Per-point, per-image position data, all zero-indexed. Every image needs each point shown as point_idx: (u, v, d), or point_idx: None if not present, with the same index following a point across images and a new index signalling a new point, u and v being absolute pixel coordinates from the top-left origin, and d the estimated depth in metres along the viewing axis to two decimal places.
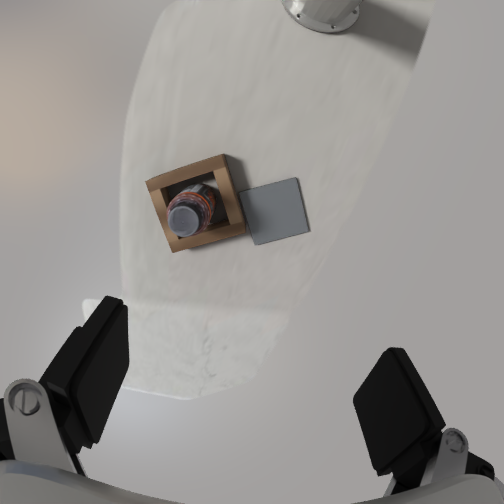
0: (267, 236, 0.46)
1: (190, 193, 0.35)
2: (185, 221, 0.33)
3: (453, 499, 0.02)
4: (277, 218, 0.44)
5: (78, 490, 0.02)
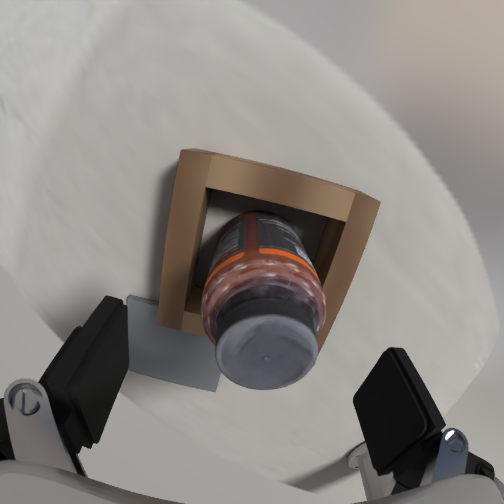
0: (137, 323, 0.22)
1: None
2: (263, 363, 0.10)
3: (453, 499, 0.02)
4: (162, 350, 0.23)
5: (78, 490, 0.02)
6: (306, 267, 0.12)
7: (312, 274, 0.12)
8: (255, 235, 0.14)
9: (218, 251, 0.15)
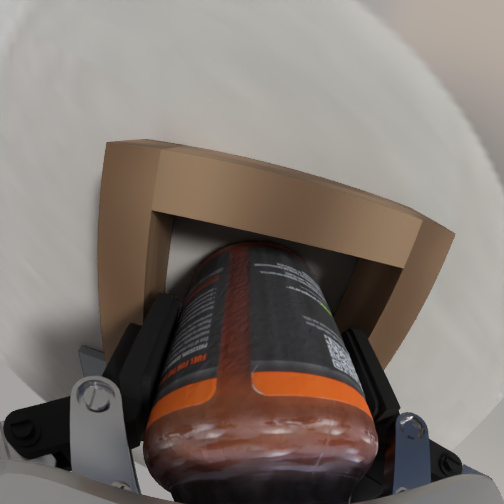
0: None
1: None
2: None
3: (453, 499, 0.02)
4: None
5: (78, 490, 0.02)
6: (353, 407, 0.05)
7: (364, 419, 0.05)
8: (244, 318, 0.07)
9: (177, 334, 0.08)
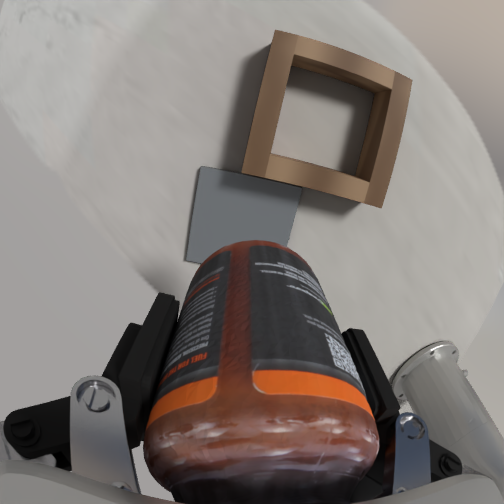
0: (206, 194, 0.24)
1: None
2: None
3: (453, 499, 0.02)
4: (229, 224, 0.25)
5: (78, 490, 0.02)
6: (354, 406, 0.05)
7: (365, 418, 0.05)
8: (245, 316, 0.07)
9: (178, 333, 0.08)
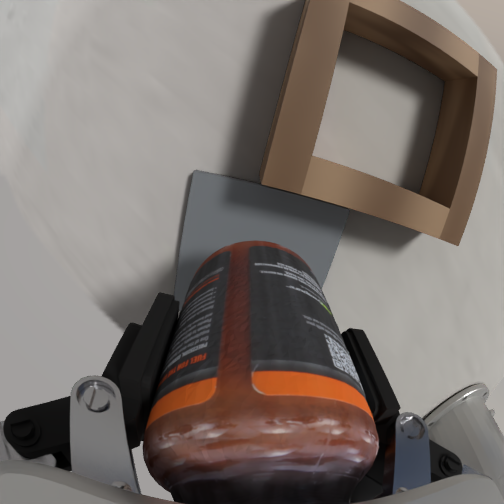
0: (202, 215, 0.16)
1: None
2: None
3: (453, 499, 0.02)
4: None
5: (78, 490, 0.02)
6: (354, 407, 0.05)
7: (364, 419, 0.05)
8: (244, 318, 0.07)
9: (177, 334, 0.08)
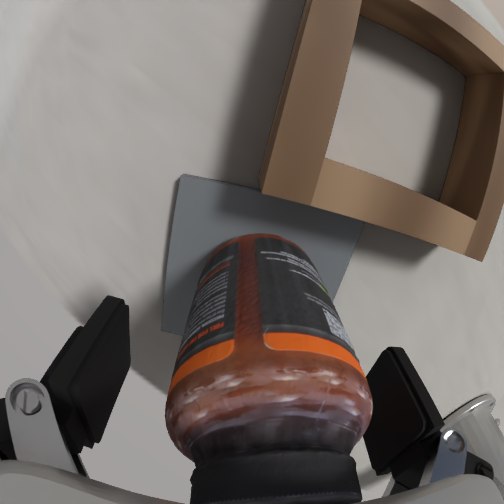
0: (191, 227, 0.13)
1: None
2: None
3: (453, 499, 0.02)
4: None
5: (78, 490, 0.02)
6: (349, 365, 0.06)
7: (358, 376, 0.06)
8: (255, 294, 0.08)
9: (194, 312, 0.09)
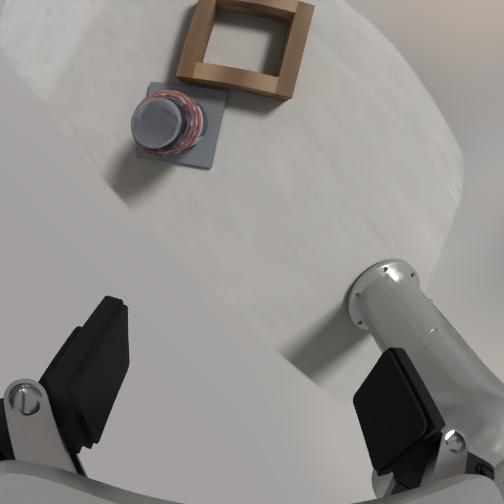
0: None
1: (192, 141, 0.22)
2: (153, 126, 0.18)
3: (453, 499, 0.02)
4: None
5: (78, 490, 0.02)
6: None
7: (187, 96, 0.20)
8: None
9: None
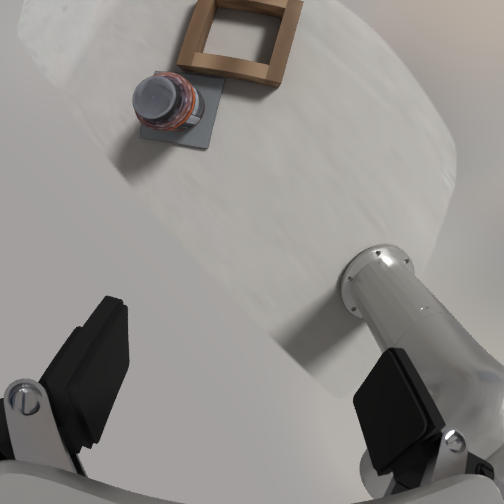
0: None
1: (186, 116, 0.23)
2: (151, 99, 0.20)
3: (453, 499, 0.02)
4: None
5: (78, 490, 0.02)
6: None
7: (184, 78, 0.22)
8: None
9: None
